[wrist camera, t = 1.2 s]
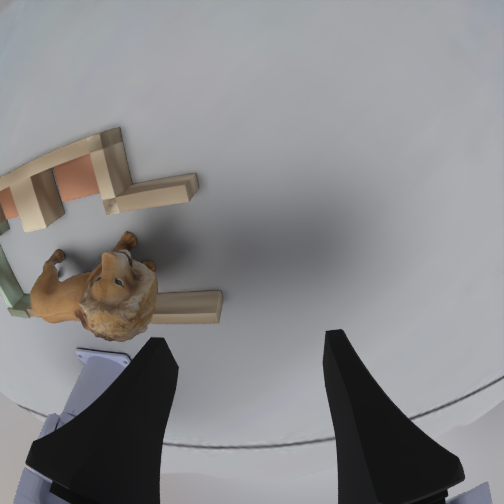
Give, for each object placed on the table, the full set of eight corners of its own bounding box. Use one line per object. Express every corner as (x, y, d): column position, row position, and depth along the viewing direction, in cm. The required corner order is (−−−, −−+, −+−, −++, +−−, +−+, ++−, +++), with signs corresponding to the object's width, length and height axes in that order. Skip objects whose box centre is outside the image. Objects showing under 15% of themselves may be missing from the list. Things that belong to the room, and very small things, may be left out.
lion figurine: (166, 195, 17) (97, 275, 9) (199, 262, 20) (164, 363, 12) (43, 255, 20) (-14, 317, 13) (72, 299, 23) (28, 367, 15)
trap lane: (223, 300, 21) (218, 326, 19) (23, 300, 24) (11, 315, 21) (184, 110, 14) (169, 112, 12) (-23, 192, 17) (-40, 203, 14)
